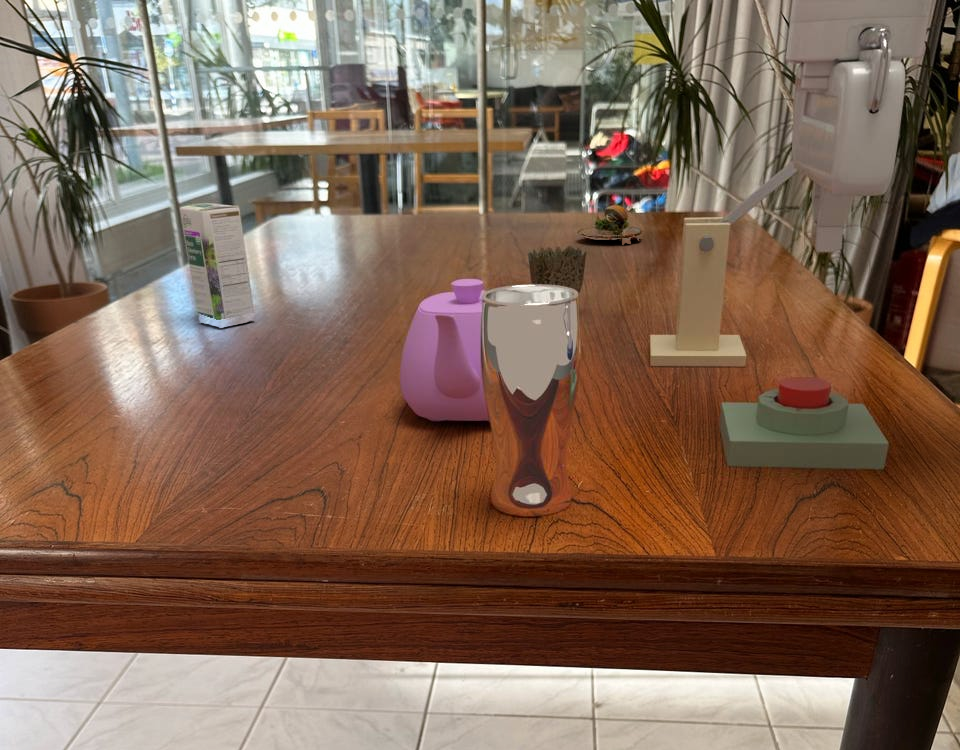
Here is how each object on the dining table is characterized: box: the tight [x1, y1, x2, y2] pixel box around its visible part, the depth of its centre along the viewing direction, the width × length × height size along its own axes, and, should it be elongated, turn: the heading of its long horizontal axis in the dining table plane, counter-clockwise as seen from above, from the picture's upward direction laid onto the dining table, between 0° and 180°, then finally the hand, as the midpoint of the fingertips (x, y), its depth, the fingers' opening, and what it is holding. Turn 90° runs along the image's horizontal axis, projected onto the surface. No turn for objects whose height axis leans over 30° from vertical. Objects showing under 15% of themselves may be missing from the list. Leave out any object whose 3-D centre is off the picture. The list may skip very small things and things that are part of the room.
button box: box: [718, 388, 890, 470], centre depth 78 cm, size 12×10×4 cm
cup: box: [527, 245, 588, 294], centre depth 122 cm, size 8×7×8 cm
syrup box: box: [179, 202, 255, 320], centre depth 123 cm, size 6×6×14 cm
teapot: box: [399, 278, 490, 423], centre depth 87 cm, size 20×13×12 cm, turn 170°
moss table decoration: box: [577, 195, 643, 239], centre depth 172 cm, size 12×12×8 cm
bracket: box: [649, 216, 747, 368], centre depth 101 cm, size 10×9×14 cm
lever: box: [705, 160, 799, 227], centre depth 95 cm, size 16×5×2 cm
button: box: [777, 376, 832, 409], centre depth 77 cm, size 4×4×2 cm
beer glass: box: [480, 283, 582, 518], centre depth 67 cm, size 7×7×15 cm
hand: (824, 249), depth 71 cm, fingers closed
